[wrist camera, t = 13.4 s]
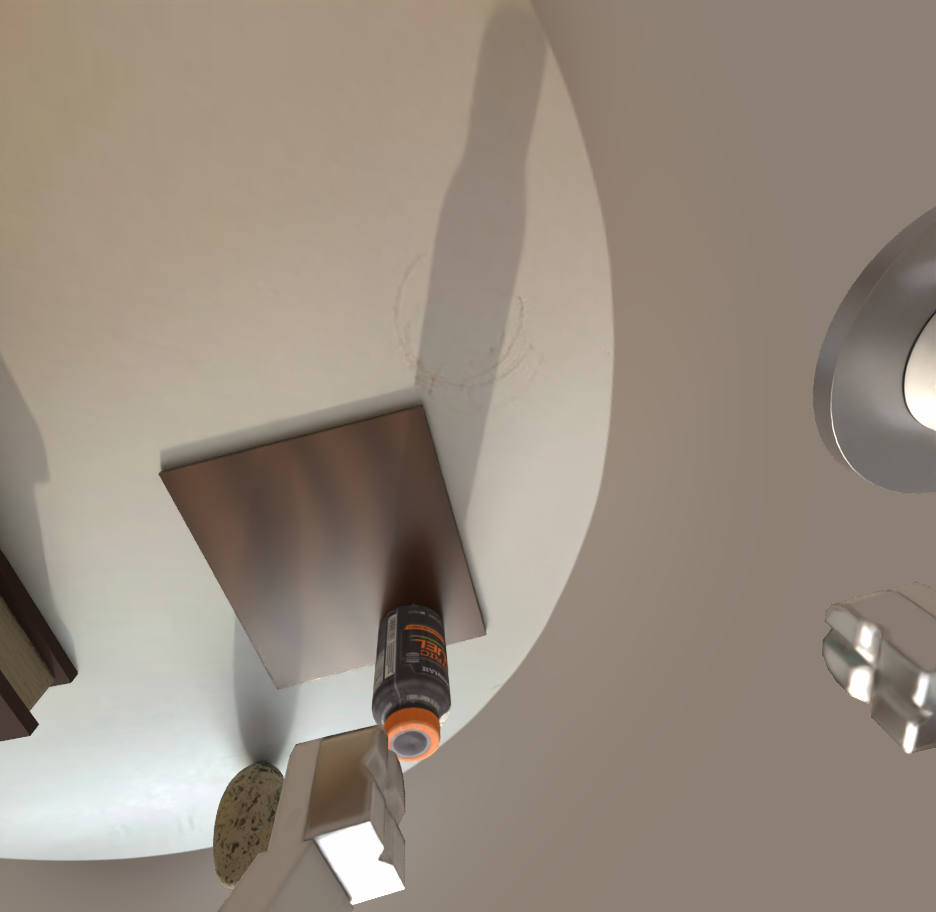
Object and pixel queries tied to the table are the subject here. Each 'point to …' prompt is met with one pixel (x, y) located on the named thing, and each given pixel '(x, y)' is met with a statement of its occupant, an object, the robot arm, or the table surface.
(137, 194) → the table surface
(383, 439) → the walnut mat
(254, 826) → the decorative egg
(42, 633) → the book
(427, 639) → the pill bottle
